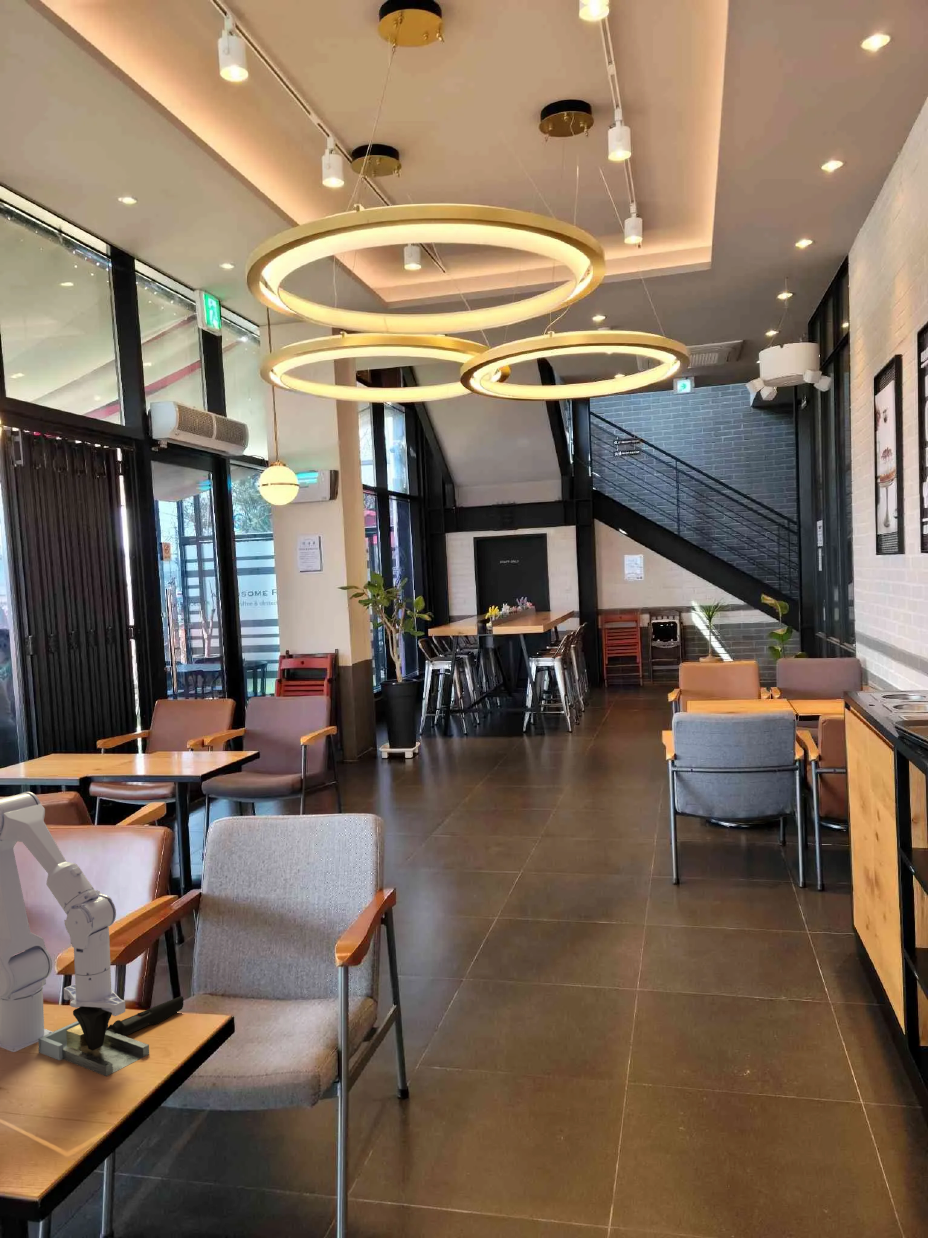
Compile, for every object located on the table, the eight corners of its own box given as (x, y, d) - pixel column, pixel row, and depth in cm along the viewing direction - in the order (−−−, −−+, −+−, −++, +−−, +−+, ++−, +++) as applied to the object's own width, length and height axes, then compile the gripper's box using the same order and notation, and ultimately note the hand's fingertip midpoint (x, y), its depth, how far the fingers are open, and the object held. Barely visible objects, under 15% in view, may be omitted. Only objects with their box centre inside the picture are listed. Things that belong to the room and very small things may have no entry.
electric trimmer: (188, 1014, 170) (188, 997, 170) (114, 1046, 158) (114, 1027, 158) (176, 1009, 172) (176, 993, 172) (102, 1040, 160) (102, 1022, 160)
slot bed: (62, 1062, 153) (62, 1049, 153) (105, 1041, 160) (105, 1029, 160) (106, 1079, 146) (106, 1066, 146) (149, 1057, 153) (148, 1045, 153)
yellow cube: (67, 1050, 156) (66, 1030, 156) (87, 1041, 159) (86, 1021, 159) (81, 1056, 154) (80, 1035, 154) (101, 1046, 157) (100, 1026, 157)
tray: (39, 1055, 156) (38, 1038, 156) (88, 1032, 164) (87, 1016, 164) (59, 1063, 152) (58, 1046, 152) (108, 1040, 160) (108, 1023, 160)
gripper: (46, 969, 155) (49, 1047, 155) (98, 985, 147) (101, 1068, 147) (83, 955, 161) (85, 1031, 161) (134, 970, 153) (137, 1049, 153)
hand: (95, 1047), depth 155 cm, fingers closed
